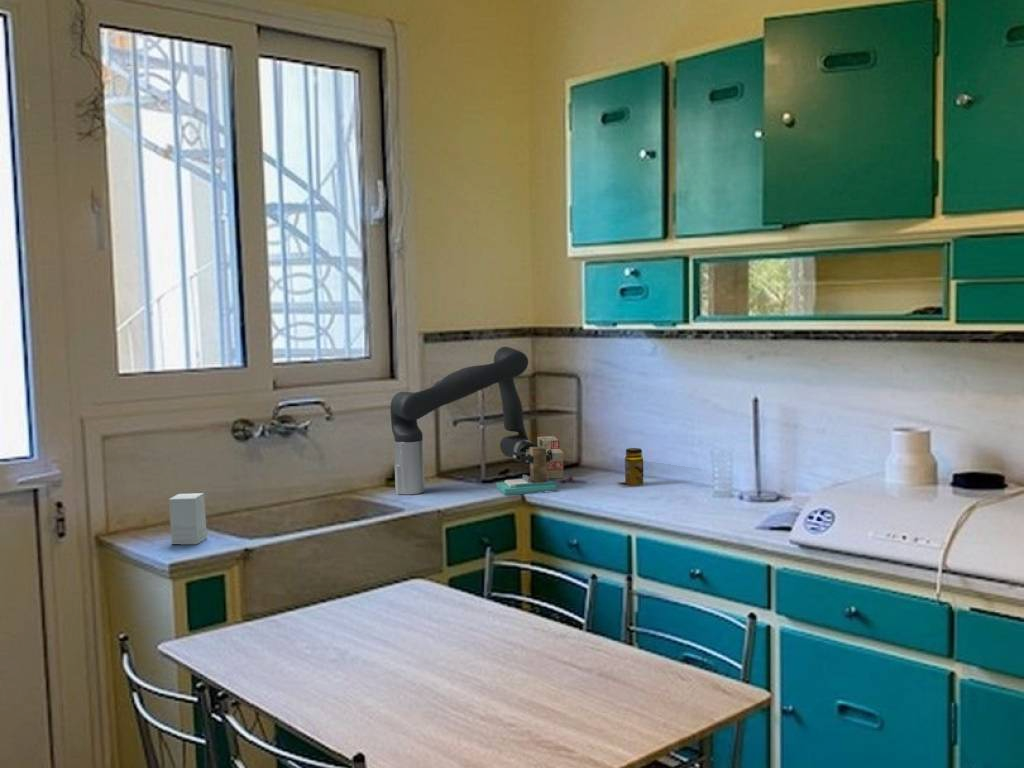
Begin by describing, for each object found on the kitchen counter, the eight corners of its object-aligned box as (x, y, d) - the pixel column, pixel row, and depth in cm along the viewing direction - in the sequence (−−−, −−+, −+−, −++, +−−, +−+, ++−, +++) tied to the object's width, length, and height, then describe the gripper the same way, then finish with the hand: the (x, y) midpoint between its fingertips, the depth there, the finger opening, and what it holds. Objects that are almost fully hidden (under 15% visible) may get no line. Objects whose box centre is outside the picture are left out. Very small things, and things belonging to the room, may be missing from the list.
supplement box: (207, 538, 276) (205, 492, 275) (197, 544, 269) (195, 498, 268) (181, 538, 277) (178, 493, 276) (170, 545, 269) (167, 498, 268)
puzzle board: (505, 495, 324) (504, 486, 323) (496, 488, 335) (496, 479, 335) (555, 491, 328) (555, 482, 328) (545, 485, 339) (545, 476, 339)
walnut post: (533, 488, 330) (532, 449, 329) (530, 485, 334) (529, 447, 333) (547, 487, 331) (546, 448, 330) (543, 485, 335) (542, 446, 334)
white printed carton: (564, 478, 351) (563, 443, 350) (546, 479, 350) (545, 444, 349) (554, 468, 372) (554, 435, 371) (538, 469, 372) (537, 436, 370)
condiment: (647, 486, 333) (646, 450, 332) (622, 487, 332) (621, 451, 331) (641, 482, 340) (640, 446, 339) (616, 483, 339) (616, 448, 338)
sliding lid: (510, 487, 326) (510, 479, 326) (504, 482, 334) (504, 475, 334) (532, 485, 328) (532, 478, 328) (526, 481, 336) (526, 474, 335)
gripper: (547, 461, 348) (561, 469, 331) (506, 463, 344) (519, 472, 328) (546, 439, 347) (561, 446, 330) (506, 442, 343) (518, 449, 327)
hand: (540, 459), depth 329 cm, fingers open, 5 cm apart
